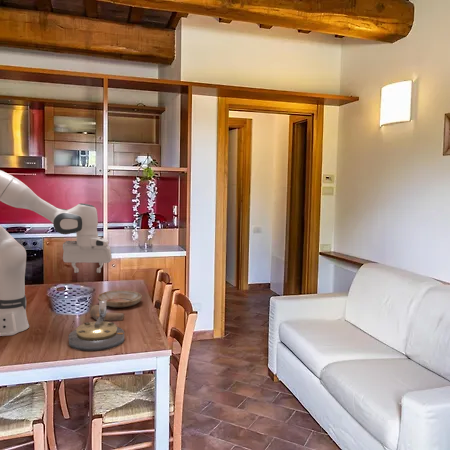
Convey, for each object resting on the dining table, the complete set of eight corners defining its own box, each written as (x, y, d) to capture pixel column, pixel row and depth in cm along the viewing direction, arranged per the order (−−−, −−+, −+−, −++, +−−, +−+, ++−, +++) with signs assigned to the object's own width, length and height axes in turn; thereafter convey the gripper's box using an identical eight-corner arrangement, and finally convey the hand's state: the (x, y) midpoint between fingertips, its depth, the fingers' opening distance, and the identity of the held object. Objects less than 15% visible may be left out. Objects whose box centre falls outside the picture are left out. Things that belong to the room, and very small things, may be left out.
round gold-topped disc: (113, 340, 172) (113, 316, 171) (72, 340, 170) (71, 316, 169) (121, 321, 195) (121, 300, 194) (85, 322, 193) (85, 300, 192)
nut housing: (71, 354, 165) (71, 346, 164) (66, 335, 185) (66, 328, 184) (129, 346, 174) (129, 338, 174) (118, 329, 194) (118, 322, 194)
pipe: (124, 312, 204) (125, 303, 214) (87, 312, 201) (90, 303, 211) (124, 324, 206) (125, 314, 215) (87, 325, 203) (90, 315, 212)
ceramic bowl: (97, 312, 218) (97, 302, 218) (97, 299, 241) (97, 290, 240) (144, 309, 225) (144, 300, 224) (139, 297, 247) (140, 289, 247)
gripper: (60, 241, 184) (61, 273, 185) (109, 242, 186) (109, 274, 187) (64, 239, 190) (65, 270, 192) (112, 240, 192) (112, 271, 193)
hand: (87, 272), depth 189 cm, fingers open, 8 cm apart
